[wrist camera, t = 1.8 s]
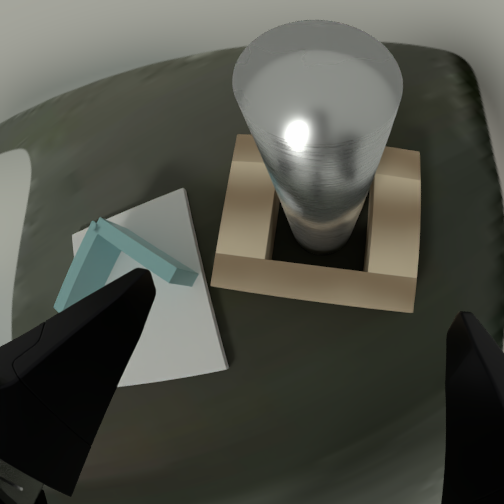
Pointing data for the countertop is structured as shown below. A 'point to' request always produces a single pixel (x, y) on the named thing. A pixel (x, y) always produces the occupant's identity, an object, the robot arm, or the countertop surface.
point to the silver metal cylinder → (319, 121)
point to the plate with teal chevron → (166, 283)
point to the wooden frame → (317, 277)
